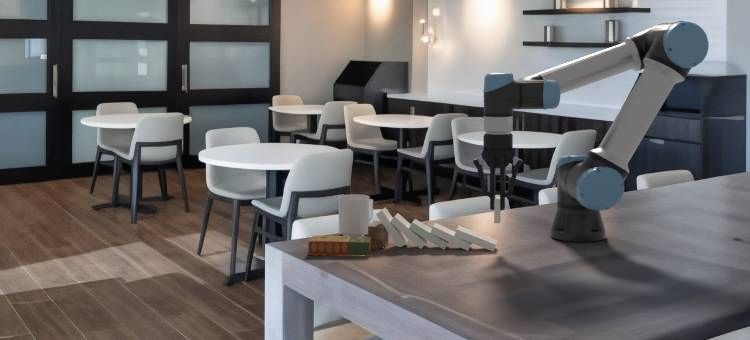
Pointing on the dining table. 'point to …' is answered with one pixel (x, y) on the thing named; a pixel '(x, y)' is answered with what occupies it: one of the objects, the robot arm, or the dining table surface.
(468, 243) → the domino
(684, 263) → the dining table surface
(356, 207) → the mug
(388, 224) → the domino
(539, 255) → the dining table surface
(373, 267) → the dining table surface
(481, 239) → the domino
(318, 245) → the carton
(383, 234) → the block
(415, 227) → the domino
